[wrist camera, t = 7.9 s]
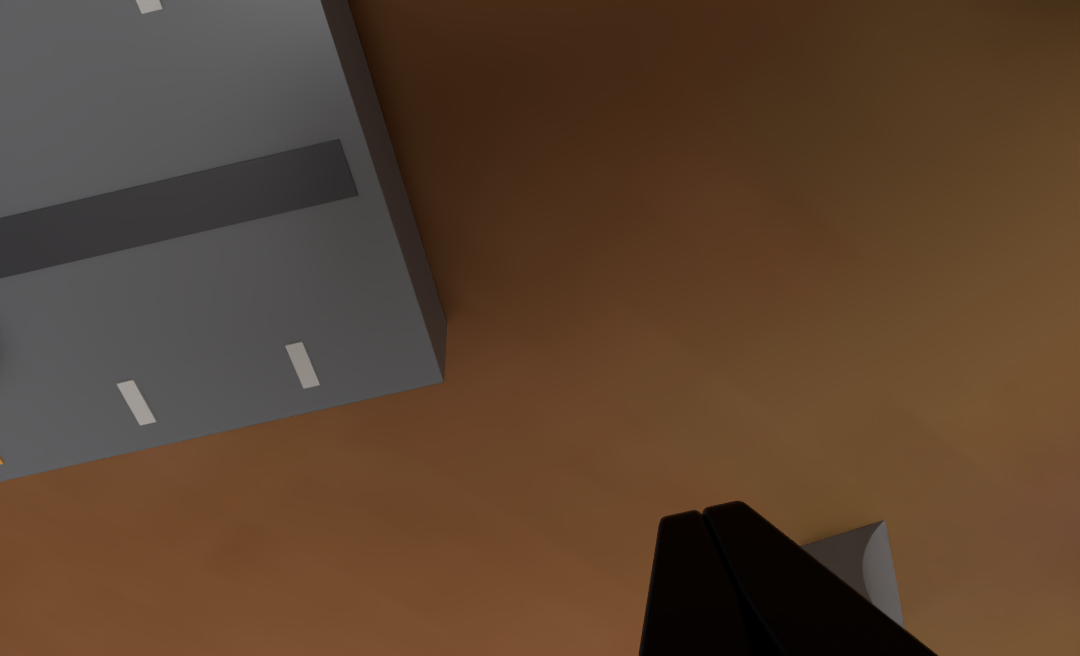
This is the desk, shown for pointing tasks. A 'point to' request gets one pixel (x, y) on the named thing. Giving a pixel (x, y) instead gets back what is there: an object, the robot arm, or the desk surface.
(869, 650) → the robot arm
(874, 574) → the skate ramp
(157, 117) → the fader console
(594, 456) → the desk surface
